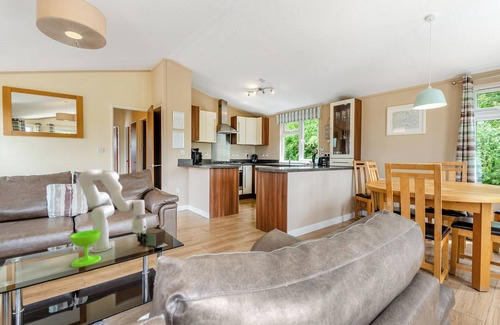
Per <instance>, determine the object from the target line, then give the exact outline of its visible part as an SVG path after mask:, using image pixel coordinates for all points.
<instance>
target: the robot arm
mask: <svg viewBox="0 0 500 325" xmlns="http://www.w3.org/2000/svg"><path fill="white" fill-rule="evenodd" d="M119 180H120V175H119V173H118V172H117V171H114V170H107V169H102V168H93V169H92V168H91V169H85V170H83V171H82V172H80V174H79V175H78V180H77V181H78V184H79V186H80V188H81V190H82V192H83V195H84V197H85V199H86V201H87V204H88V205H89V206H90V207H95V208H93V209H92V211H91V213H90V217H91V218H90V219H91V221H92V230H99V231H101V232H100V236H99V238H98V240H97V241H96V242H95V243H93V244H92V245H90V246H91V247H92V248H91V249H90V252H91V253H95V254H96V253H102V252H106V251H109V250H111V248H112V245H111V244H110V235H109V232H110V231H109V229H110V228H109V222H108V219H107V218H109V217H111V216H113V215H114V213H115V207H116V208H117V210H118V211H119V212H121V213H127V212H130V211H132V210H133V211H132V212H133V215H132V217H133V218H132V220H131V232H132V233H133V234H135V235H136V242H137V243H140V242H141V241H142V236H143V234H146V230H147V229H148V226H147V219H146V212H145V211H146V209H145V208H146V207H145V204H146V203H145V200H144V199H127V200H126V199H124V198H123V196H122V190H123V185H122V184H121V183H120V181H119ZM93 181H101V183H102V184H103V185H104V186H105V188H106V189H107V190H108V191H109V193H110V196H111V197H110V196H109V194H108V193H107V192H105V191H99V189H98V187H97V185H96V184H95V183H94V182H93ZM114 206H115V207H114Z"/></svg>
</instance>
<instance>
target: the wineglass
mask: <svg viewBox="0 0 500 325" xmlns="http://www.w3.org/2000/svg"><path fill="white" fill-rule="evenodd" d="M100 232H101V231H99V230H93V229H91V230H84V231H79V232H76V233H75V232H74V233H73V234H71V235H70V236H69V237H70V241H71V242H72V244H73V245H74V246H77V247H79V248H84V256H82V257H79V258H77V259H75V260H73V261H72V262H71V264H70V267H73V268H83V267H87V266H91V265H94V264H96V263H98V262H100V261H101V260H102V257H101V256H100V255H97V254H95V255H94V254H89V247H90V246H91V245H92V244H93V243H95V242H96V241H97V240H98V238H99V236H100Z"/></svg>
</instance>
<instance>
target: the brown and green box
mask: <svg viewBox="0 0 500 325" xmlns="http://www.w3.org/2000/svg"><path fill="white" fill-rule="evenodd" d="M146 233H148V234H156V246H149V245H146V243H145V244H144V245H142V241H141V242H139V244H137V246H138V247H140V246H141V247H146V248H154V249H155V248H157V247H159V246H160V245H163V244H164V243H166V229H164V228H152V227H150V228H149V227H147V230H146ZM143 237H146V234H143V236H142V238H143ZM144 242H146V239H144Z"/></svg>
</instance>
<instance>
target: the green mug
mask: <svg viewBox="0 0 500 325" xmlns="http://www.w3.org/2000/svg"><path fill="white" fill-rule="evenodd" d="M144 239H146V242H144ZM145 243H146V245H145V246H147V245H149V246H154V247H155V246H156V234H148V233H146V237H143V238H142V245H144V244H145Z"/></svg>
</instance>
